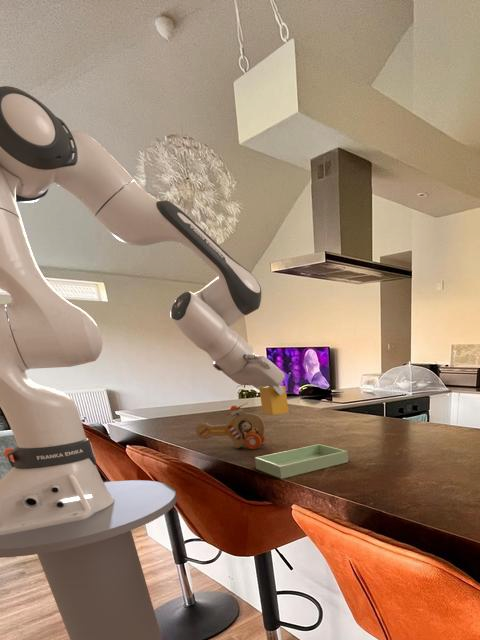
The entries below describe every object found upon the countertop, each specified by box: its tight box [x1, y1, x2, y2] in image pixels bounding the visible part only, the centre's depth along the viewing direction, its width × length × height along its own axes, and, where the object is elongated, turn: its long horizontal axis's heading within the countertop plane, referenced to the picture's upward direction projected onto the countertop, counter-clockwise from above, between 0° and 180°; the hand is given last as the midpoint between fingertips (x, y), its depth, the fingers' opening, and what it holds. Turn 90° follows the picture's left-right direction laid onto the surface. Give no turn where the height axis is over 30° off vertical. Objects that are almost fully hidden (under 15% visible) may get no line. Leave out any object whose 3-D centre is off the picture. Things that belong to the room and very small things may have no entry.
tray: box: [254, 443, 349, 480], centre depth 109 cm, size 20×13×3 cm
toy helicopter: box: [195, 402, 266, 450], centre depth 130 cm, size 8×21×14 cm, turn 94°
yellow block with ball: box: [258, 385, 289, 416], centre depth 113 cm, size 5×5×11 cm
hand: (274, 392), depth 113 cm, fingers closed on yellow block with ball, 5 cm apart
